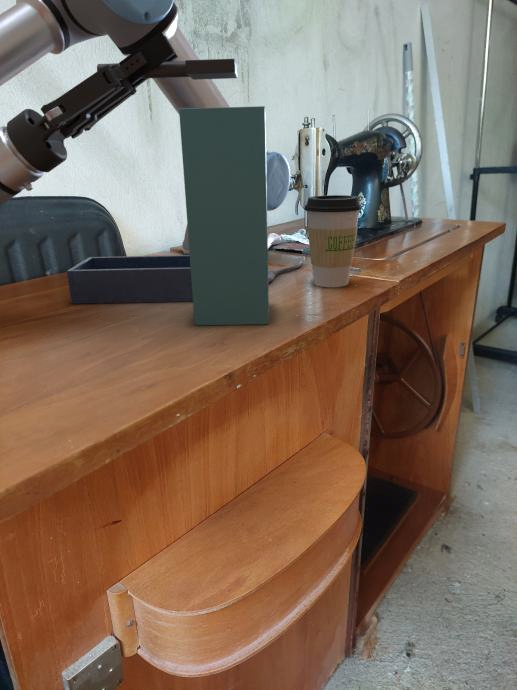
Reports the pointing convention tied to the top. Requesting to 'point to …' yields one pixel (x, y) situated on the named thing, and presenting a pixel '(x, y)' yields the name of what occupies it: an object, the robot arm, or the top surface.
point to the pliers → (282, 270)
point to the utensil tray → (131, 279)
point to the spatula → (273, 239)
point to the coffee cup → (332, 237)
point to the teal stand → (226, 213)
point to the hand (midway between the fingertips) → (169, 44)
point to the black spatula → (193, 69)
